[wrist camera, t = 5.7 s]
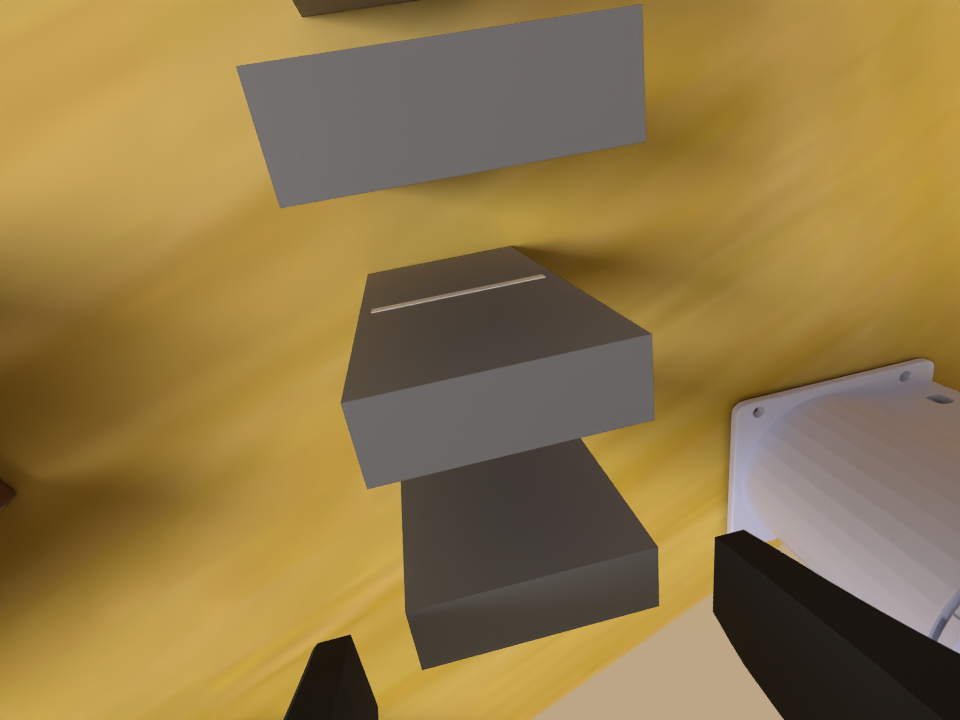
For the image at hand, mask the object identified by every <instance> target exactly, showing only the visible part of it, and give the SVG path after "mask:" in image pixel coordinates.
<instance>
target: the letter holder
mask: <svg viewBox="0 0 960 720" xmlns="http://www.w3.org/2000/svg"><path fill="white" fill-rule="evenodd" d="M14 496H15V491H14V490H12V489H11V488H9V487H8V486H6V485H5V484H3V483H2V482H1V481H0V510H2V509H3V508H4V507H5V506H6V505H7V504H8V503H9V502H10V501H11V500H12V498H13V497H14Z"/></svg>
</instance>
